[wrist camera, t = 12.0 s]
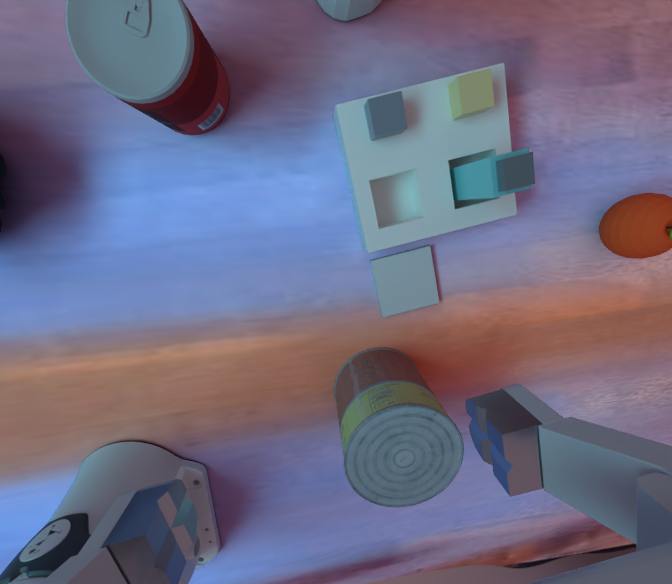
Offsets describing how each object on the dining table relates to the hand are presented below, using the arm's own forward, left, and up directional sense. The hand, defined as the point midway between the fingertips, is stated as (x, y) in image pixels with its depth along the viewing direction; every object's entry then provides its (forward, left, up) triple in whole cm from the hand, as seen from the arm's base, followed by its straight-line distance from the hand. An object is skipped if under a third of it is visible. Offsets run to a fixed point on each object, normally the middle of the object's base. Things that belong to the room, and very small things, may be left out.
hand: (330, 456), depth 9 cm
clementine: (-4, -36, -28) cm, 46 cm away
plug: (+5, -18, -28) cm, 33 cm away
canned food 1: (+20, +7, -28) cm, 35 cm away
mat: (-4, -10, -28) cm, 30 cm away
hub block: (+8, -14, -28) cm, 32 cm away
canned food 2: (-17, -4, -28) cm, 33 cm away
